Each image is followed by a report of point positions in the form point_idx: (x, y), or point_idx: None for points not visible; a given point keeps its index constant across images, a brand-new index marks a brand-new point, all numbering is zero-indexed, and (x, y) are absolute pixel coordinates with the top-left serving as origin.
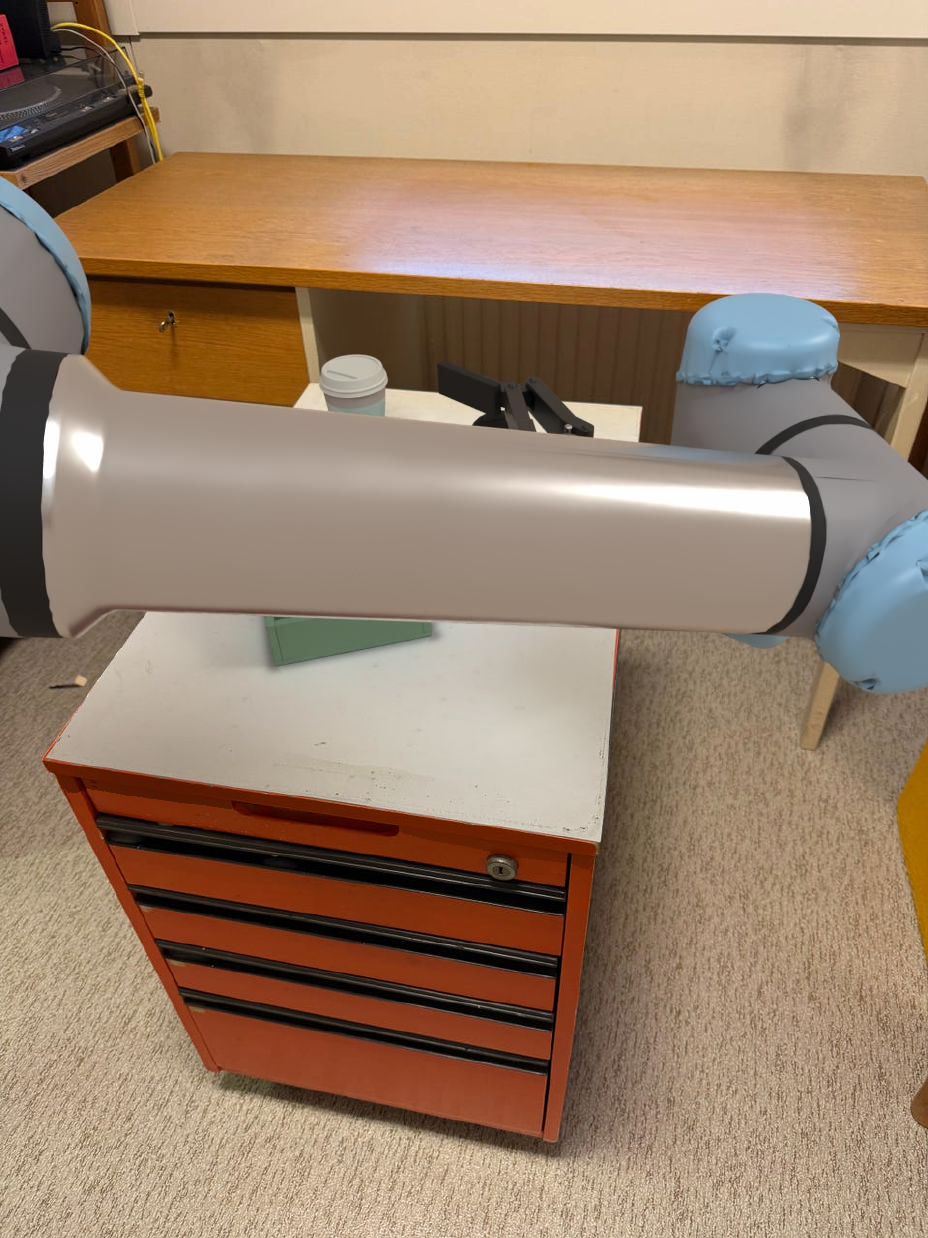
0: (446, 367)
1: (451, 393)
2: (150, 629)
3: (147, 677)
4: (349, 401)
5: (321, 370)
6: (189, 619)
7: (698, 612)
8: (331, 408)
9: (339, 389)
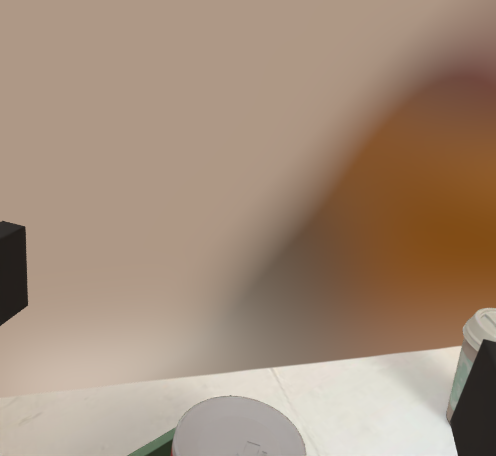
0: (494, 366)
1: (467, 452)
2: (91, 391)
3: (12, 425)
4: None
5: (479, 310)
6: (117, 413)
7: None
8: (461, 353)
9: (477, 338)
